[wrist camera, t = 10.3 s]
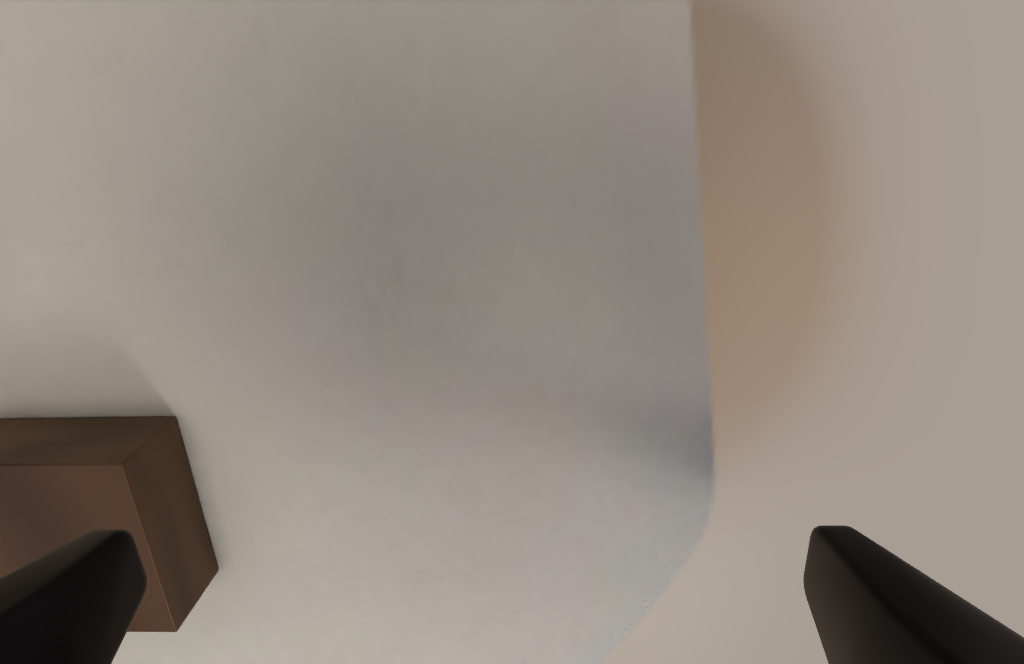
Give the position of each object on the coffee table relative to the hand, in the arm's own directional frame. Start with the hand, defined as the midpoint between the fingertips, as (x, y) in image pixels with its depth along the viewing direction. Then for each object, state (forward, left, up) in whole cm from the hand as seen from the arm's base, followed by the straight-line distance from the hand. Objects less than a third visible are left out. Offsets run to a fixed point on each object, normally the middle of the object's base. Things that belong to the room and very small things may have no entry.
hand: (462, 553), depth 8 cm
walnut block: (+16, +8, -12) cm, 21 cm away
